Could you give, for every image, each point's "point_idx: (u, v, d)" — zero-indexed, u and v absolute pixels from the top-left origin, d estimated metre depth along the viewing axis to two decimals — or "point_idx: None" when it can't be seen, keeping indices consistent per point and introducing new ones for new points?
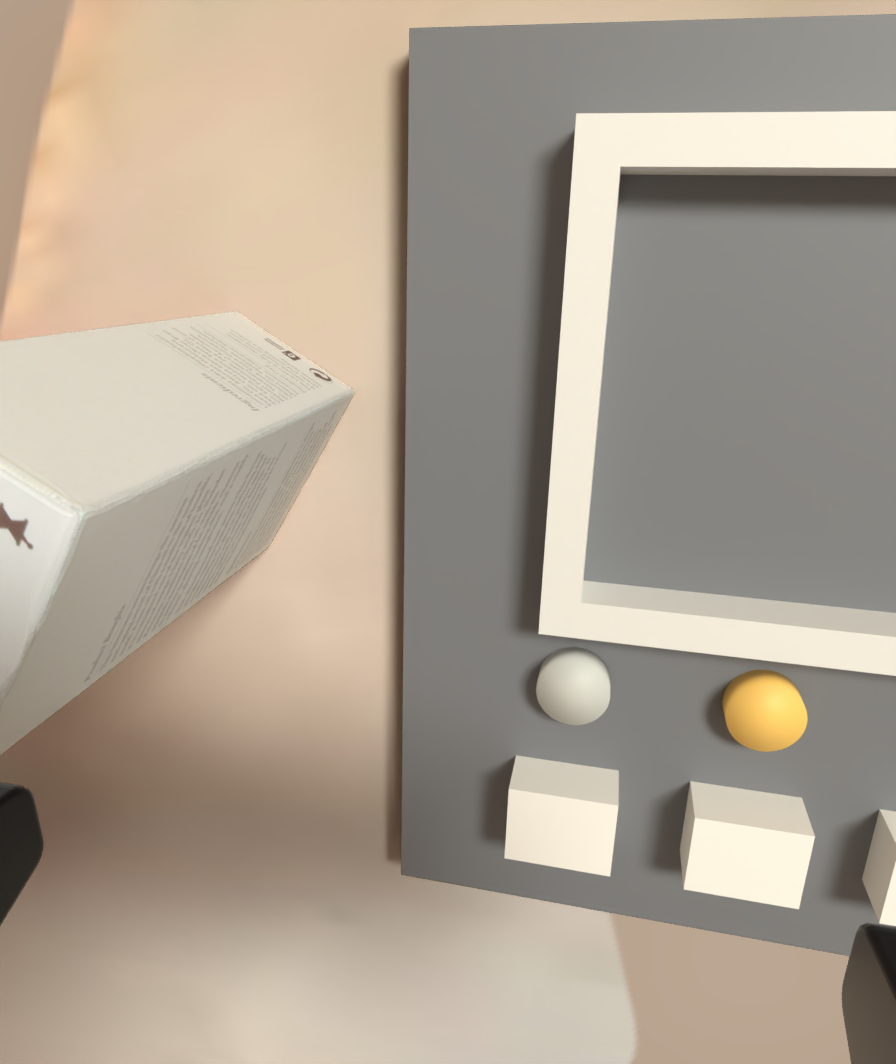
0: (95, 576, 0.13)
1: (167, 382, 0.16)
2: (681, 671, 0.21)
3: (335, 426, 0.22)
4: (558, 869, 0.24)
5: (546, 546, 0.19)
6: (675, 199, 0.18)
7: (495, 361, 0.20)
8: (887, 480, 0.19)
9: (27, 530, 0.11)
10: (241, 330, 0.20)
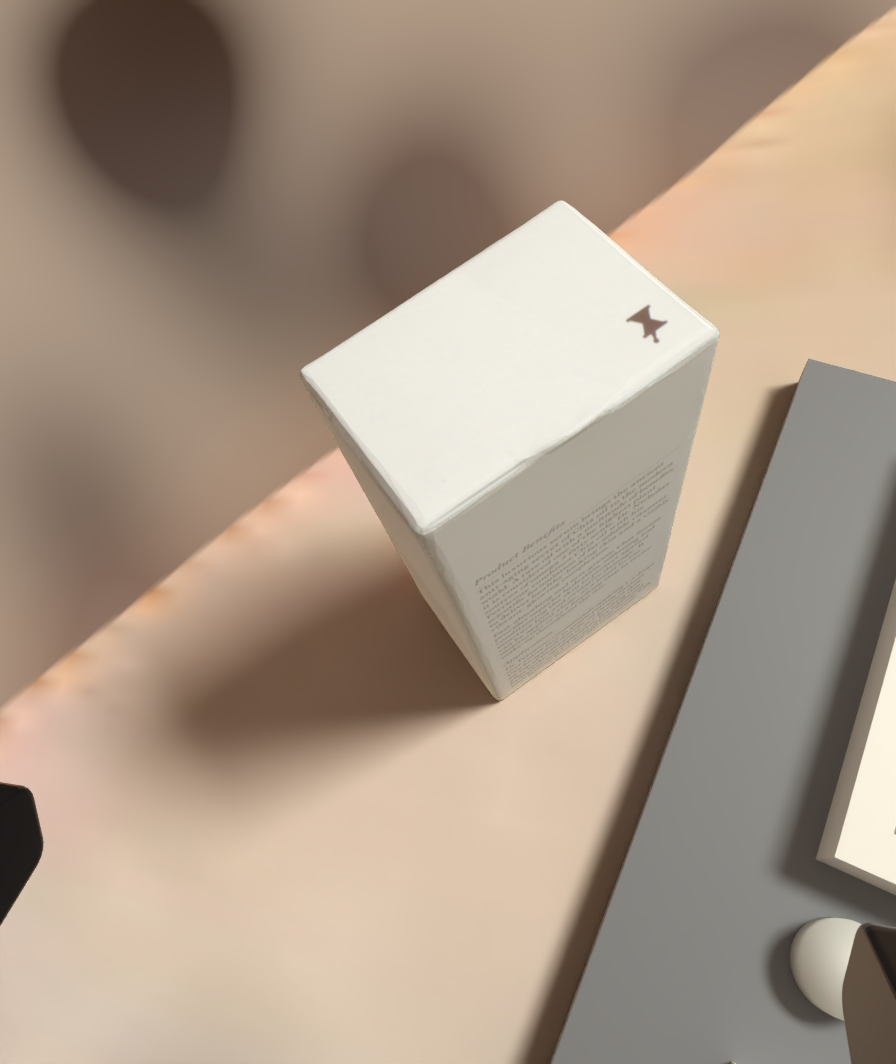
0: (637, 426, 0.13)
1: None
2: None
3: (628, 607, 0.23)
4: None
5: (865, 755, 0.18)
6: None
7: (820, 590, 0.21)
8: None
9: (661, 329, 0.13)
10: None
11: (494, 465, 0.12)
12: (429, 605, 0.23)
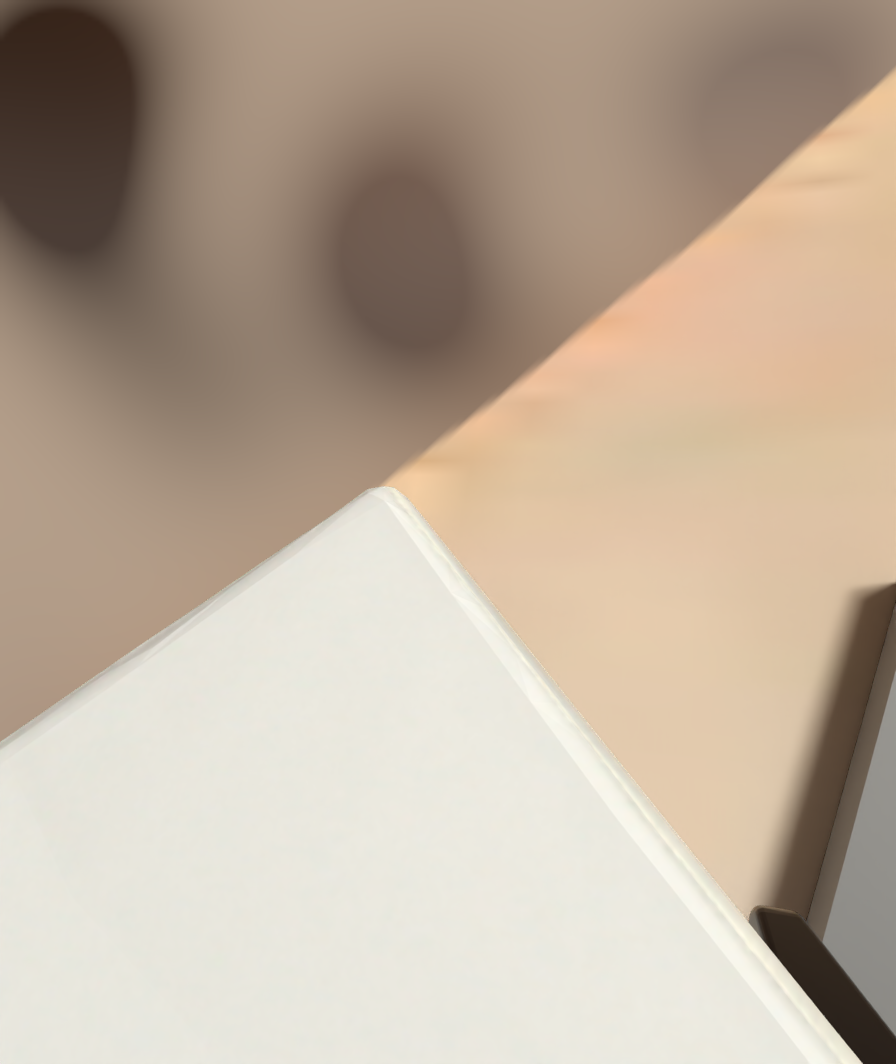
0: None
1: None
2: None
3: None
4: None
5: None
6: None
7: None
8: None
9: None
10: None
11: None
12: None
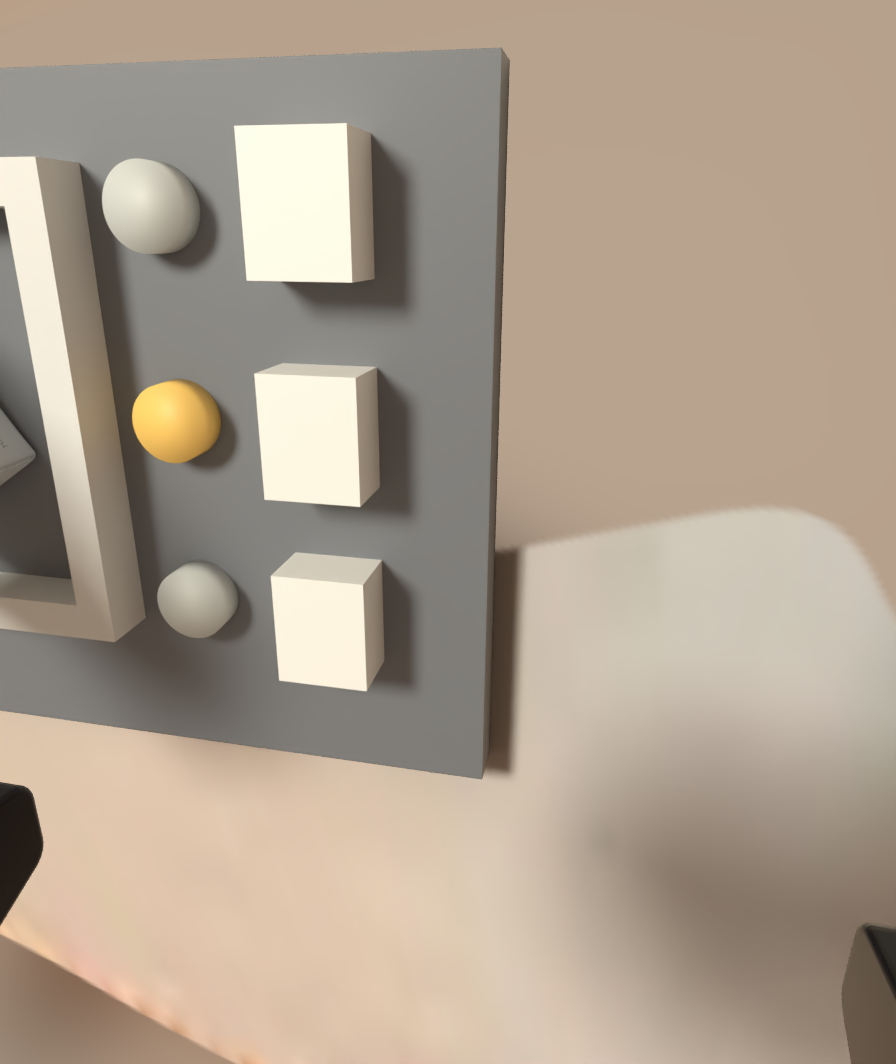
0: None
1: None
2: (172, 495, 0.21)
3: None
4: (437, 615, 0.21)
5: (36, 631, 0.22)
6: None
7: None
8: None
9: None
10: None
11: None
12: None
